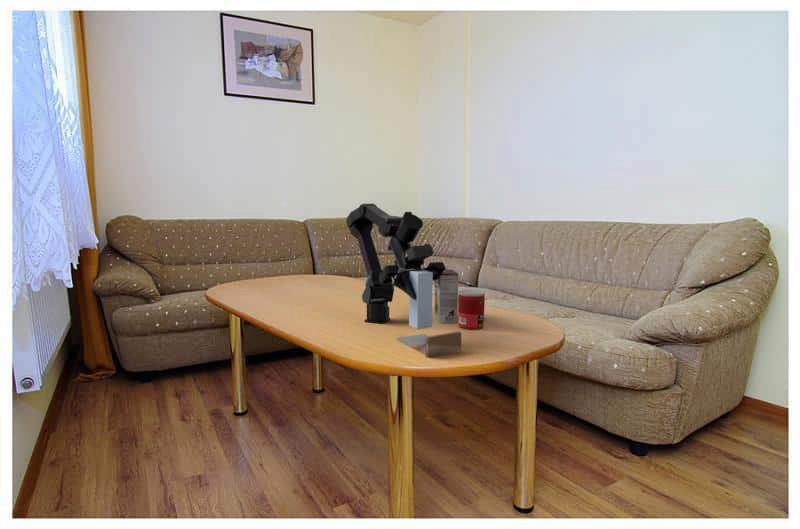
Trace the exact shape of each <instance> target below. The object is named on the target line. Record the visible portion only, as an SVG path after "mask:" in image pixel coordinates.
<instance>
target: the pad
mask: <svg viewBox="0 0 800 529" xmlns="http://www.w3.org/2000/svg"><path fill="white" fill-rule="evenodd" d="M426 336H429V335H427V334H425V333H419V334H415V335H414V334H413V335H407V336H399V337H396V341H398V342H400V343H402V344H404V345H406V346H408V347H410V348H412V342H418V343H420V344H422V345H424V346H425V337H426Z"/></svg>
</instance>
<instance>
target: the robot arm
mask: <svg viewBox="0 0 800 529" xmlns="http://www.w3.org/2000/svg"><path fill="white" fill-rule="evenodd" d="M374 225H376V226H377V227H378V232H379V233H380V235H381V236H382V237H383V238H390V239H389V242H388V246H387V250H388V251H392V253H393V256H394V258H395V260H394V262H393V263H394V264H386V265H385V264H384V266H383V267H382V266H381V262H380V259H379V256H378V253H377V250H376V246H375V244H374V240H373V237H372V231H373V227H374ZM423 226H424V223H423V220H422V219H421V218H420V217H419V216H417V215H415V214H413V213H412V211H405V212H404V213H403V216H402V217H401V216H396V215H390V214H389V213H387V212H386V211H384V210H382V209H381V208H380V207H378V206H377V204H375V203H362V204H360V205H359V206H358V207H357V208H356V209H353V210H352V211H350V212H349V214H348V215H347V217H346V227H347V228H348V230H349V232H350V234H351V236H353V237H354V238H355V239H356V240H357V243H358V244H357V245H358V246H359V250H360V254H361V256H362V260H363V264H364V267H365V269H366V274H367V278H366V282H365V286H364V287H365V288H364V290H363V292H362V295H361V298H362V303H364V304H366V318H365V319H364V322H367V323H375V324H384V323H385V322H388V321H389V320H391V317H390V306H389V303H392V302H393V297H394V293H395V288H394V287H396V288H398V289H399V290H401V291H402V292H404V293H405V294H406V295H407V296H410V297H411V298H412V299H414V300H416V298H417V297H416V293H415V291H414V289H413V286H412V284H411V282H410V271H419V270H425V271H429V272H433V281H435V280H438V279H439V278H440V276H441V275H442V273H443V272H444V270H447V269H446V266H445V264H444V262H443V261H430V262H428V263H429V264H428V265H427V267H422V266H423V265H424V264H425V261H424V260H426V259H429V257H431V256H432V255H433V254H434V249H433V247H432V245H431V244H430V243H425V244H424V245H413V246H412V242H414V241H416V239H417V237H418V235H419V233H420V231H421V229H422V228H423Z"/></svg>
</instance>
